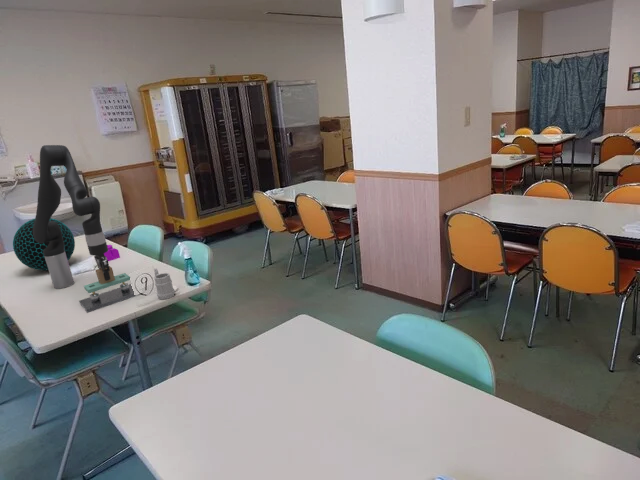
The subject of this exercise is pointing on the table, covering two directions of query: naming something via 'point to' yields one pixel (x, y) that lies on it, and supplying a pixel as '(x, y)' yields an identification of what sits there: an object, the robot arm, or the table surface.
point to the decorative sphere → (38, 245)
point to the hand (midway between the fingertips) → (106, 278)
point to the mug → (163, 285)
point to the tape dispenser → (112, 253)
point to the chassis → (107, 297)
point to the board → (98, 286)
